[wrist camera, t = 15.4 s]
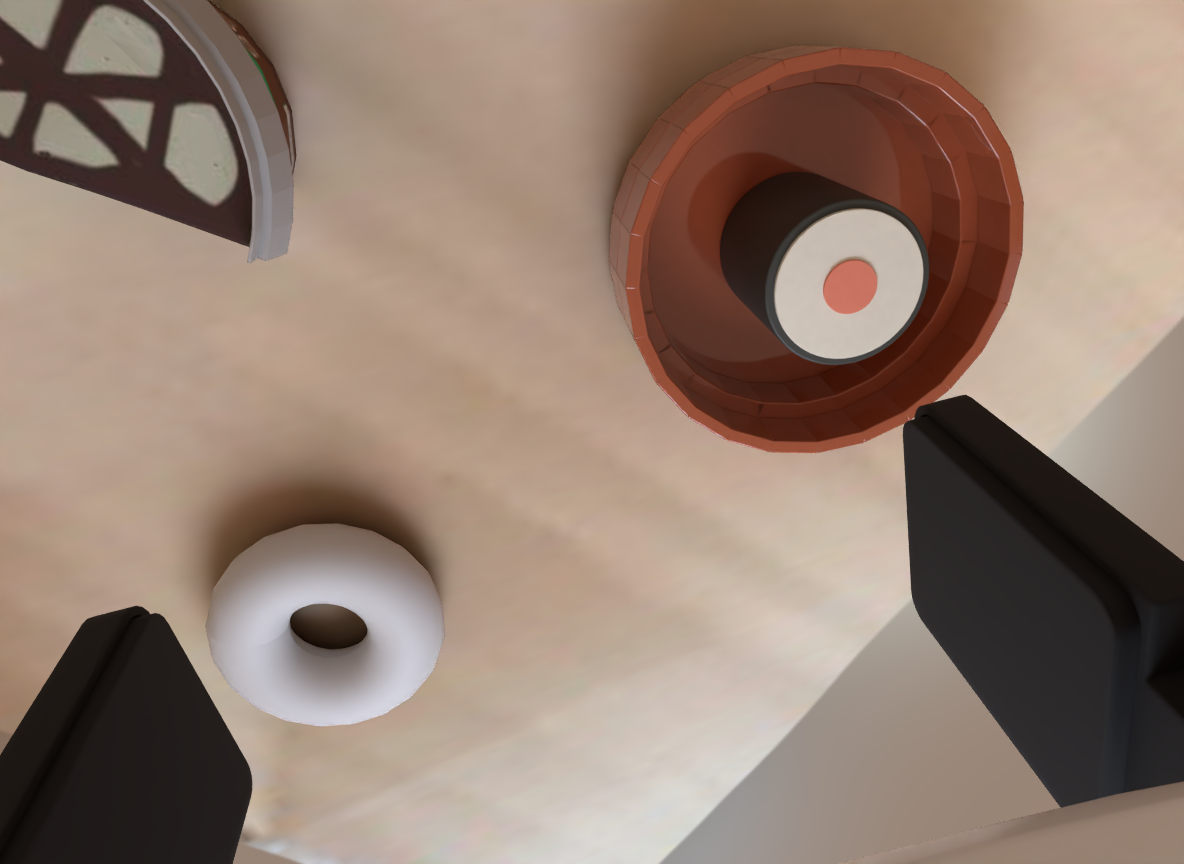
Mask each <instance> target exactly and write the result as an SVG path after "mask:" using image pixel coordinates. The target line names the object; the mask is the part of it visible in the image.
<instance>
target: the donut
mask: <svg viewBox="0 0 1184 864" xmlns="http://www.w3.org/2000/svg"><path fill="white" fill-rule="evenodd" d="M325 603H328V604H333V605H338V606H343V607H345V608H347V609H349V610H351V611H353V612H355V613H356V614H357V615H359V616H360V617H361V618H362V619H363V620H364V622H365V624H366V626H367V628H368V632H367V635H366V637H365V638H364V639H363V640H362V641H361V642H360V643H358V644H357V645H354V646H351V647H347V648H344V649H325V648H320V647H315V646H313V645H311V644H309V643H307V642H305V641H303V640H302V639H301V638H300V637H299V636H297V635H296V634H295V633H294V632H293V630H292V628H291V625H290V618H291V615H292V614H293V613H294V612H295V611H297V610H298V609H300V608H302V607H305V606H308V605H311V604H325ZM206 631H207V636H208V641H209V646H210V651H211V655H212V658H213V661H214V663H215V664H216V666H217V667H218V669H219V670H220V672H221V673H222V675H223V677H224V678H225V680H226V681H227V683H228V684H229V686H230V687H231V688H232V689H233V690H234V691H236V692H237V693H238V694H239V695H241V696H242V697H243V698H244V699H246V700H247V701H248V702H249V703H251V704H252V705H253V706H254V707H256V708H258V709H260V710H263V711H265V712H267V713H269V714H272V715H274V716H276V717H279V718H281V719H283V720H286V721H291V722H297V723H303V724H309V725H315V726H332V725H347V724H355V723H358V722H361V721H365V720H368V719H371V718H374V717H377V716H380V715H383V714H385V713H387V712H388V711H390V710H391V709H393V708H395V707H396V706H398V705H399V704H401V703H402V702H404V701H405V700H407V699H408V698H410V697H411V696H412V695H413V694H414V693H415V692H416V691H417V689H418V688H419V687H420V686H421V685H422V683H423V682H424V681H425V680H426V678H427V677H428V676H429V675H430V674H431V672H432V671H433V670H434V667H435V664H436V661H437V658H438V655H439V652H440V649H441V646H442V643H443V640H444V637H445V630H444V615H443V604H442V600H441V598H440V595H439V593H438V591H437V589H436V587H435V585H434V583H433V581H432V579H431V576H430V574H429V572H428V571H427V570H426V569H425V568H424V567H423V566H422V565H421V564H420V563H419V562H418V561H417V560H416V559H415V558H414V557H413V556H412V555H411V554H410V553H409V552H408V551H407V550H406V549H405V548H403V547H402V546H400V545H398V544H396V543H394V542H393V541H391V540H389V539H387V538H385V537H383V536H381V535H380V534H378V533H376V532H374V531H371V530H366V529H362V528H358V527H353V526H349V525H344V524H340V523H331V524H306V525H299V526H296V527H293V528H290V529H287V530H284V531H281V532H278V533H275V534H272V535H268V536H265V537H263V538H262V539H260V540H259V541H258V542H256V543H255V544H253V545H252V546H251V547H249V548H248V549H246V550H245V551H244V552H242V553H241V554H239V555H238V556H237V557H236V558H235V559H234V560H233V561H232V562H231V564H230V565H229V567H228V568H227V570H226V571H225V572H224V574H223V575H222V577H221V578H220V580H219V581H218V583H217V584H216V586H215V587H214V589H213V592H212V597H211V602H210V607H209V612H208V617H207V622H206Z"/></svg>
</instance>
